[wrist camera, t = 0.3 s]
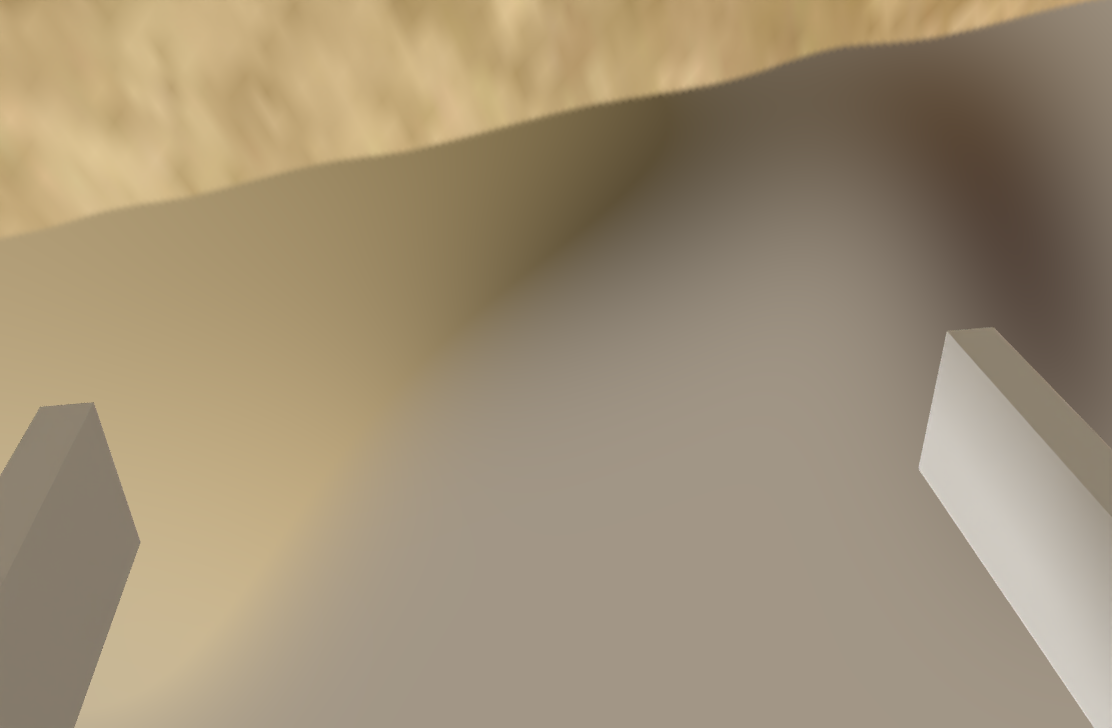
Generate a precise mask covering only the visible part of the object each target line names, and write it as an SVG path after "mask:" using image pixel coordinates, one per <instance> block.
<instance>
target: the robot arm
mask: <svg viewBox="0 0 1112 728" xmlns="http://www.w3.org/2000/svg"><path fill="white" fill-rule="evenodd" d="M919 470H920V472H921V473H922V475H923V476H924V478H925V479H926V481H927V482H928V484H929V485H930V486H931V488H932V489H933V491H934V492H935V494H936V495H937V497H938V498H939V500H940V501H941V503H942V504H943V506H944V507H945V508H946V510H947V512H948V513H949V514H950V516H951V517H952V519H953V520H954V522H955V523H956V525H957V526H958V528H959V529H960V531H961V532H962V534H963V535H964V536H965V538H966V540H967V541H968V543H969V544H970V545H971V547H972V548H973V550H974V551H975V553H976V554H977V556H978V557H979V559H980V560H981V562H982V563H983V565H984V566H985V567H986V569H987V571H988V572H989V573H990V575H991V576H992V578H993V579H994V581H995V582H996V584H997V585H998V587H999V588H1000V590H1001V591H1002V592H1003V594H1004V596H1005V597H1006V599H1007V600H1008V601H1009V603H1010V604H1011V606H1012V607H1013V609H1014V610H1015V612H1016V613H1017V615H1018V616H1019V618H1020V619H1021V621H1022V622H1023V624H1024V625H1025V627H1026V628H1027V629H1028V631H1029V632H1030V634H1031V635H1032V637H1033V638H1034V640H1035V641H1036V643H1037V644H1038V646H1039V647H1040V649H1041V650H1042V651H1043V653H1044V654H1045V656H1046V658H1047V659H1048V661H1049V662H1050V663H1051V665H1052V666H1053V668H1054V669H1055V671H1056V672H1057V674H1058V675H1059V677H1060V678H1061V680H1062V681H1063V683H1064V684H1065V685H1066V687H1067V689H1068V690H1069V691H1070V693H1071V694H1072V696H1073V697H1074V699H1075V700H1076V702H1077V703H1078V705H1079V706H1080V708H1081V709H1082V711H1083V712H1084V714H1085V715H1086V717H1087V718H1088V719H1089V721H1090V722H1091V724H1092V725H1093V727H1094V728H1112V449H1111V448H1110V447H1109V446H1108V445H1107V444H1106V443H1105V442H1104V441H1103V440H1102V439H1101V438H1100V436H1099V435H1097V433H1096V432H1095V431H1094V430H1093V429H1092V428H1091V427H1090V426H1089V425H1088V424H1087V423H1086V422H1085V421H1084V420H1083V419H1082V418H1081V417H1080V416H1079V415H1078V414H1077V413H1076V412H1075V411H1074V410H1073V409H1072V408H1071V407H1070V406H1069V405H1068V404H1067V403H1066V401H1064V399H1063V398H1062V397H1061V396H1060V395H1059V394H1058V393H1057V392H1056V391H1055V390H1054V389H1053V388H1052V387H1051V386H1050V385H1049V384H1048V383H1047V382H1046V381H1045V380H1044V379H1043V378H1042V377H1041V376H1040V375H1039V374H1038V373H1037V372H1036V371H1035V370H1034V368H1033V367H1031V365H1030V364H1029V363H1028V362H1027V361H1026V360H1025V359H1024V358H1023V357H1022V356H1021V355H1020V354H1019V353H1018V352H1017V351H1016V350H1015V349H1014V348H1013V347H1012V346H1011V345H1010V344H1009V343H1008V342H1007V341H1006V340H1005V339H1004V338H1003V337H1002V336H1001V335H1000V334H999V332H997V330H995V328H994V327H989V328H977V329H965V330H953V331H947V333H946V338H945V343H944V348H943V353H942V357H941V363H940V367H939V372H938V377H937V382H936V386H935V391H934V396H933V401H932V406H931V410H930V416H929V420H928V425H927V430H926V435H925V440H924V444H923V449H922V454H921V459H920V463H919ZM139 544H140V540H139V537H138V534H137V531H136V528H135V525H134V522H133V519H132V516H131V513H130V510H129V507H128V504H127V501H126V498H125V495H124V492H123V489H122V486H121V483H120V480H119V477H118V474H117V471H116V468H115V465H114V462H113V459H112V456H111V453H110V450H109V447H108V444H107V441H106V438H105V435H104V432H103V429H102V426H101V423H100V420H99V417H98V414H97V411H96V408H95V405H94V402H93V403H81V404H68V405H57V406H44V407H40V408H39V410H38V412H37V414H36V415H35V417H34V419H33V420H32V422H31V424H30V425H29V427H28V429H27V431H26V432H25V434H24V436H23V437H22V439H21V441H20V443H19V444H18V446H17V448H16V449H15V451H14V453H13V455H12V456H11V458H10V460H9V462H8V464H7V465H6V467H5V468H4V470H3V472H2V474H1V476H0V728H74V726H75V724H76V721H77V718H78V715H79V713H80V710H81V707H82V704H83V701H84V698H85V696H86V693H87V690H88V687H89V685H90V682H91V679H92V676H93V673H94V671H95V668H96V665H97V662H98V659H99V657H100V654H101V651H102V648H103V645H104V642H105V640H106V637H107V634H108V632H109V629H110V626H111V623H112V620H113V617H114V615H115V612H116V609H117V606H118V604H119V601H120V598H121V595H122V592H123V590H124V587H125V584H126V581H127V578H128V575H129V573H130V570H131V567H132V564H133V562H134V559H135V556H136V553H137V550H138V548H139Z"/></svg>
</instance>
